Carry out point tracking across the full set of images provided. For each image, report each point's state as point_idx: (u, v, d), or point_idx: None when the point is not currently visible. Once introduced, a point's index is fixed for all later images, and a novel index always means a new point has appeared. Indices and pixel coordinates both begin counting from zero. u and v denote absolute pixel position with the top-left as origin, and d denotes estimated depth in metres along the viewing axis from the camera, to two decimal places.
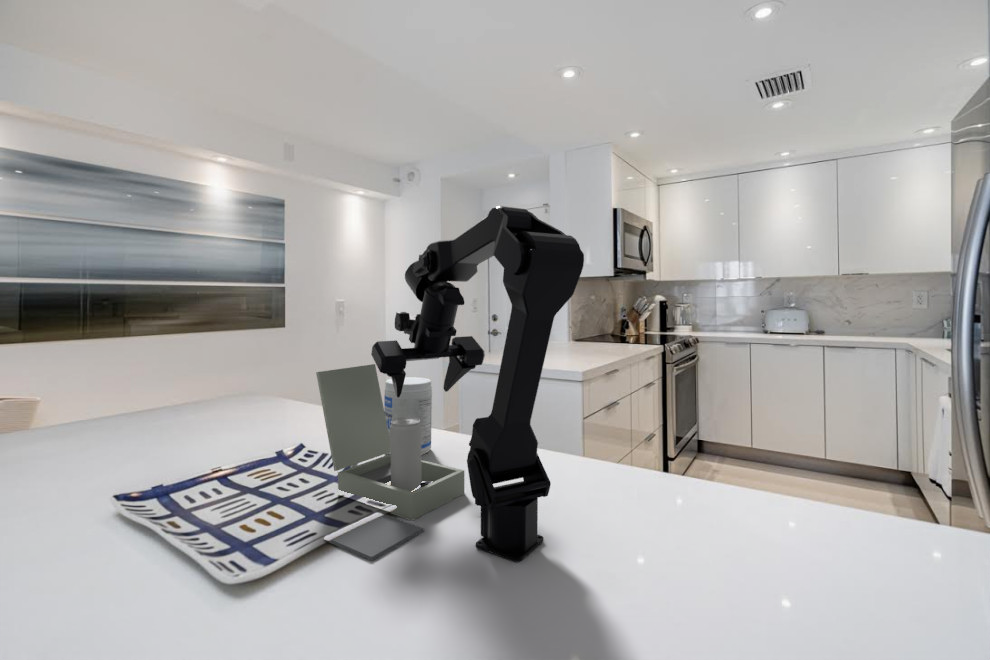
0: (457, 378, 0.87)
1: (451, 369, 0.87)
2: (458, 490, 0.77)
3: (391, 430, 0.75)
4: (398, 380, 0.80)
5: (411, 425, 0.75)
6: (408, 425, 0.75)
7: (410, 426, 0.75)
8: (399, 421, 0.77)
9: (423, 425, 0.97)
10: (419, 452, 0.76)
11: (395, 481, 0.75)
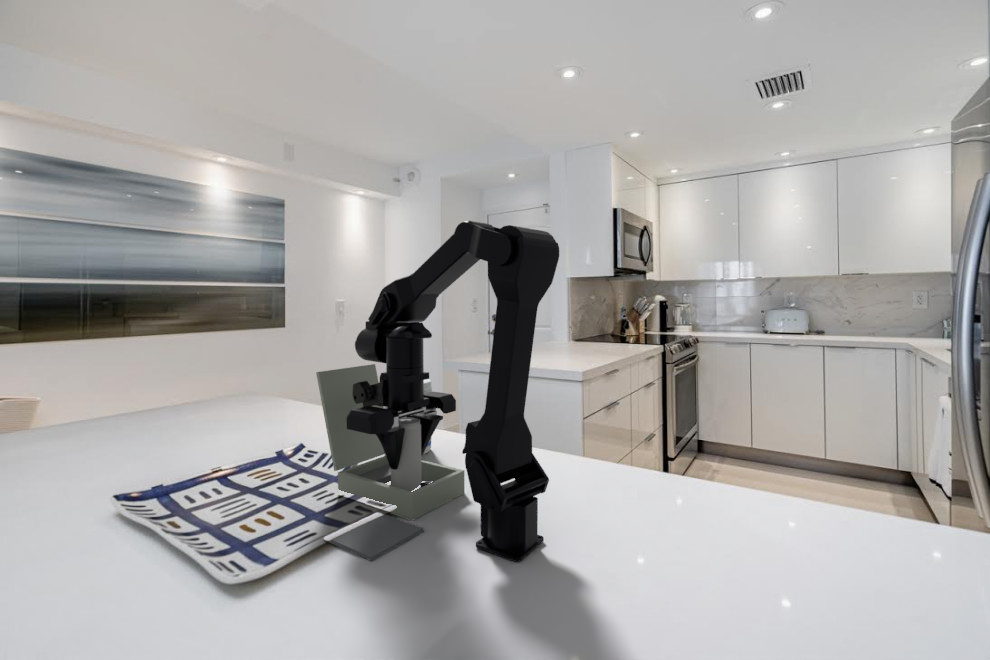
0: (428, 437, 0.78)
1: None
2: (458, 490, 0.77)
3: None
4: (398, 440, 0.72)
5: (411, 425, 0.75)
6: (408, 425, 0.75)
7: (410, 426, 0.75)
8: (399, 421, 0.77)
9: None
10: (419, 452, 0.76)
11: (395, 481, 0.75)
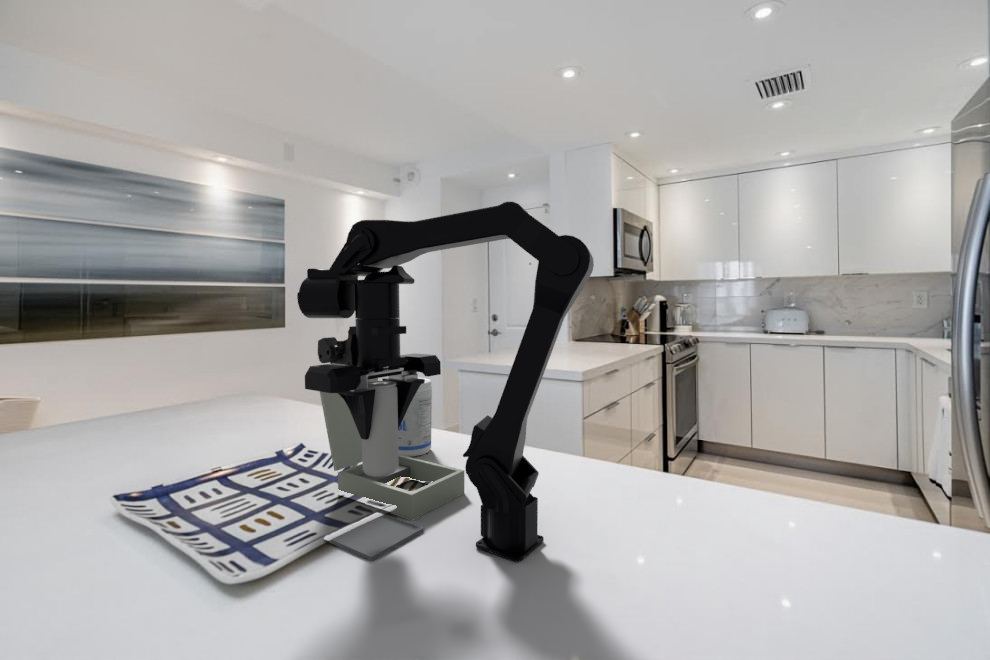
0: (407, 403, 0.67)
1: None
2: (458, 490, 0.77)
3: None
4: (367, 403, 0.61)
5: (384, 387, 0.63)
6: (380, 387, 0.63)
7: (383, 388, 0.63)
8: (371, 384, 0.65)
9: (423, 425, 0.97)
10: (395, 420, 0.65)
11: (366, 454, 0.64)
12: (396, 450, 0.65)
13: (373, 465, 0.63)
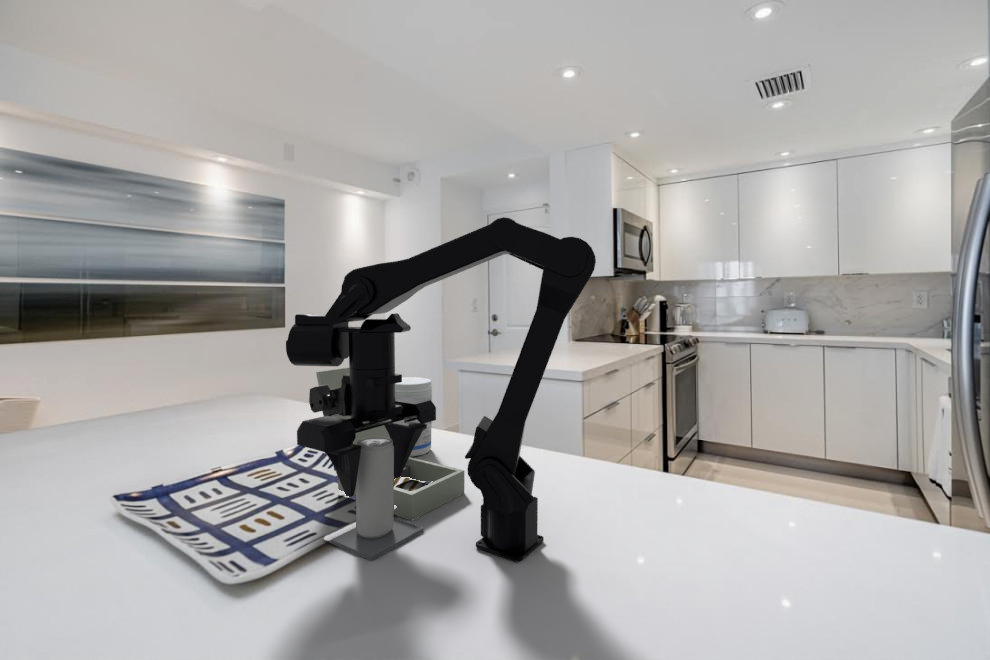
0: (409, 450, 0.66)
1: (397, 443, 0.67)
2: (458, 490, 0.77)
3: None
4: (352, 461, 0.58)
5: (381, 448, 0.61)
6: (377, 448, 0.61)
7: (380, 449, 0.61)
8: (367, 442, 0.63)
9: None
10: (391, 480, 0.63)
11: (360, 516, 0.62)
12: (391, 510, 0.64)
13: (368, 527, 0.62)
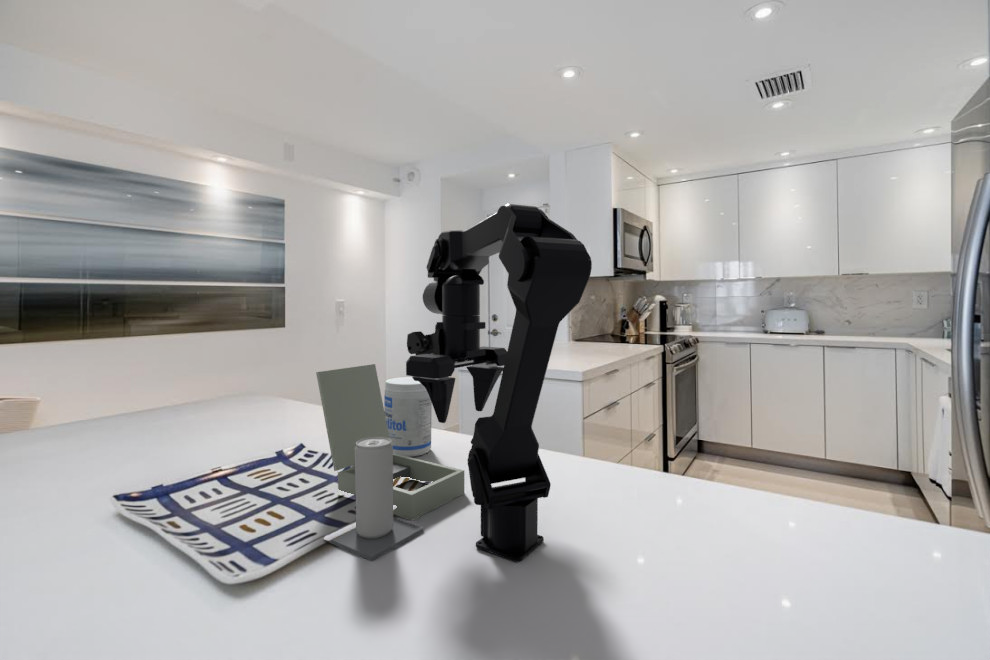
0: (491, 387, 0.78)
1: (480, 382, 0.79)
2: (458, 490, 0.77)
3: (356, 453, 0.62)
4: (448, 390, 0.69)
5: (380, 447, 0.62)
6: (376, 447, 0.61)
7: (379, 449, 0.62)
8: (366, 442, 0.63)
9: (423, 425, 0.97)
10: (390, 480, 0.63)
11: (360, 516, 0.62)
12: (391, 510, 0.64)
13: (368, 527, 0.62)
